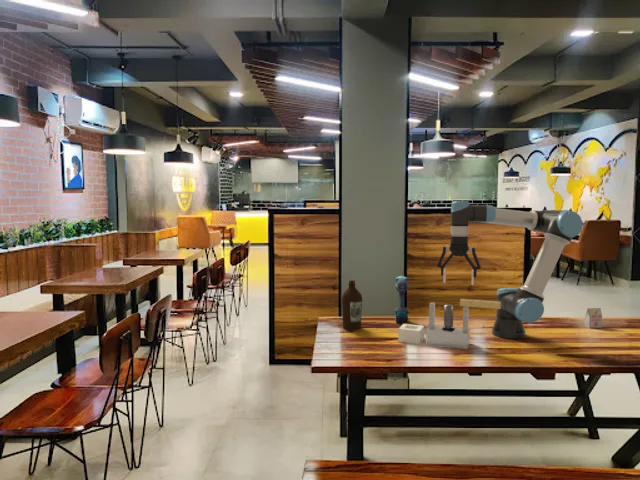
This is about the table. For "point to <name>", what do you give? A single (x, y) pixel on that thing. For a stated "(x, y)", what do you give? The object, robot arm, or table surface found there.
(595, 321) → the milk carton
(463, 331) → the grey post stand
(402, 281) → the impact wrench
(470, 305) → the rectangular wooden block
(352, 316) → the olive oil
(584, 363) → the table surface
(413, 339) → the cream square block
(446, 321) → the smooth metal cylinder
